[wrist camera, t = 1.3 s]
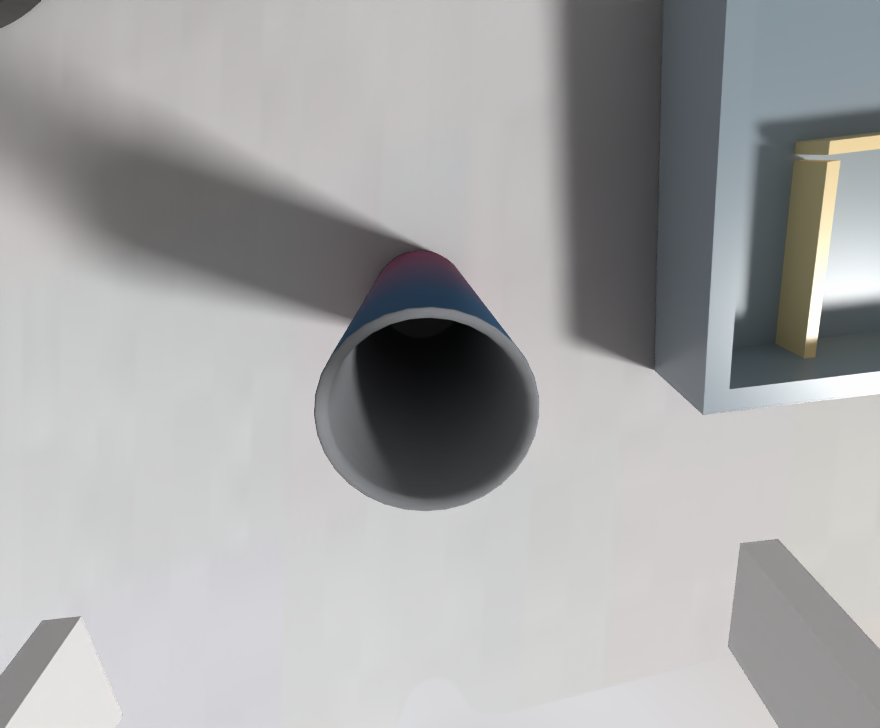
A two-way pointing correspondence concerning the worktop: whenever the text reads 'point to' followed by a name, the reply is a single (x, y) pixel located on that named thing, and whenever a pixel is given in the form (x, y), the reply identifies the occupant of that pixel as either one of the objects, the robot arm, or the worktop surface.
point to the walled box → (769, 202)
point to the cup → (425, 392)
